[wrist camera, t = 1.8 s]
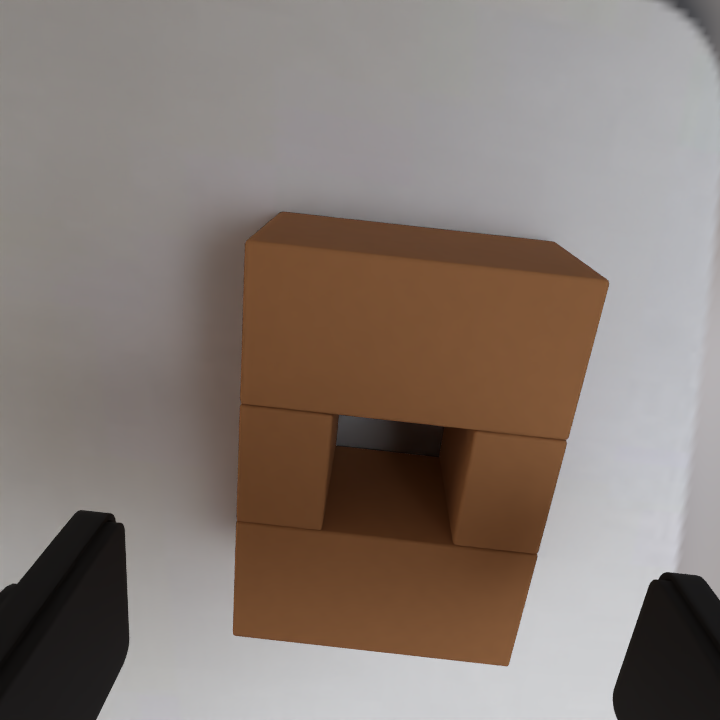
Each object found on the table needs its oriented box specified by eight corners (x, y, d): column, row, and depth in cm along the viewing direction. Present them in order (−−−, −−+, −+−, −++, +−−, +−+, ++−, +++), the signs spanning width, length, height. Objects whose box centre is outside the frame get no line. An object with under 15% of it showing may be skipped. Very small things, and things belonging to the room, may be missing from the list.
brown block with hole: (279, 210, 15) (243, 239, 11) (556, 241, 15) (612, 281, 11) (263, 534, 19) (232, 636, 15) (484, 559, 19) (508, 667, 15)
